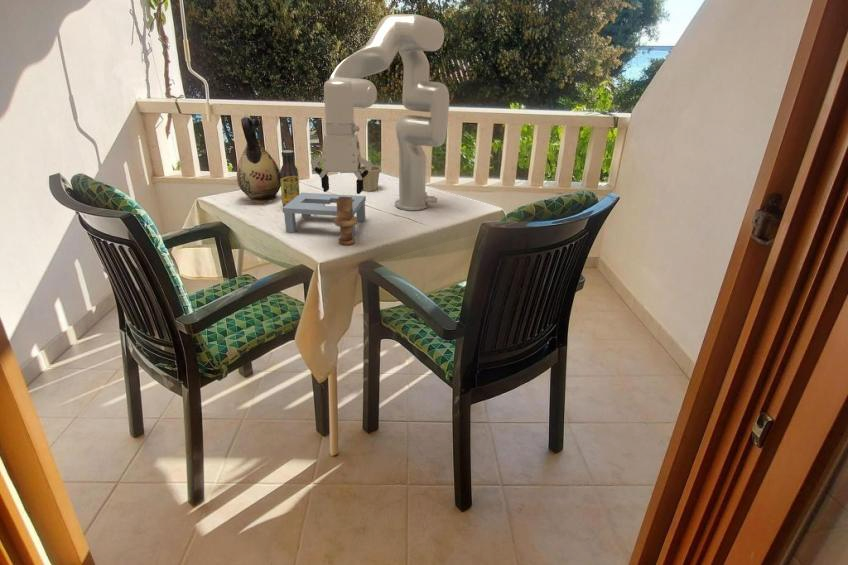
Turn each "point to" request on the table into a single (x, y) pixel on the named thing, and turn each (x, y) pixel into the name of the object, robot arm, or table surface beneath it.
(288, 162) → the sauce bottle
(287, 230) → the stand
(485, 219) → the table surface
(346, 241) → the walnut peg
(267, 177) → the ceramic jug
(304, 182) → the table surface
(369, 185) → the flower pot
